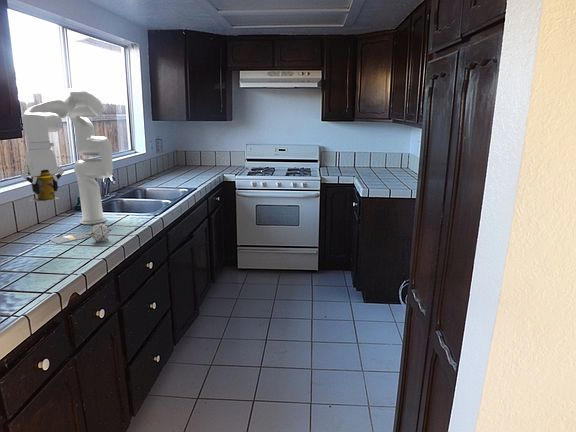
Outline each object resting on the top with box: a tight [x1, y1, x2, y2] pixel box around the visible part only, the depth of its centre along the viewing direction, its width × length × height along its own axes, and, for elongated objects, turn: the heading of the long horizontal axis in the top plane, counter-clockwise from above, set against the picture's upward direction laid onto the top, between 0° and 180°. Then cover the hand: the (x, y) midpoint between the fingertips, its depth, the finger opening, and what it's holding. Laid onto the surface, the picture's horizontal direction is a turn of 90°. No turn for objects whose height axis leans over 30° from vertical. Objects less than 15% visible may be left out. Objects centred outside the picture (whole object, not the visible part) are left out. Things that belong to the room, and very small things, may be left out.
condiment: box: [28, 170, 60, 203], centre depth 166 cm, size 7×8×12 cm
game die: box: [88, 221, 112, 244], centre depth 181 cm, size 9×8×10 cm
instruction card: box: [48, 231, 92, 245], centre depth 186 cm, size 10×14×1 cm
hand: (45, 191), depth 168 cm, fingers closed on condiment, 6 cm apart
